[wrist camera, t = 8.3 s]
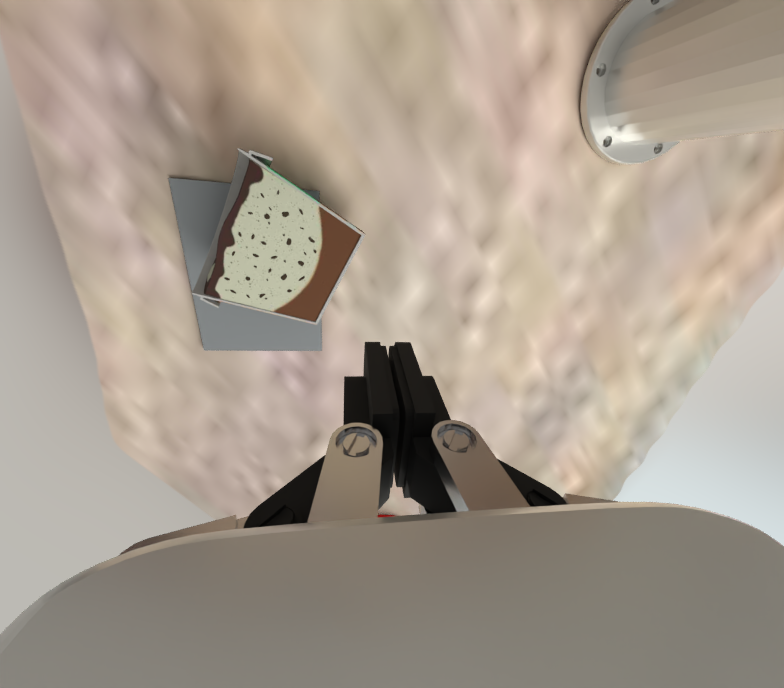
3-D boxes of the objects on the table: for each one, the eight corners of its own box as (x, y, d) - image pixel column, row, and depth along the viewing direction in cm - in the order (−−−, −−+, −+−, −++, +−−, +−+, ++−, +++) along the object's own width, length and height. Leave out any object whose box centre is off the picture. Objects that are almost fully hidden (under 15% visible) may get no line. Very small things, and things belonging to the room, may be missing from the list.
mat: (319, 191, 28) (319, 191, 28) (321, 349, 36) (321, 350, 35) (170, 177, 26) (168, 178, 26) (205, 348, 34) (204, 350, 33)
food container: (360, 199, 30) (248, 132, 25) (374, 217, 25) (240, 139, 20) (306, 305, 35) (205, 267, 30) (310, 337, 30) (189, 299, 25)
